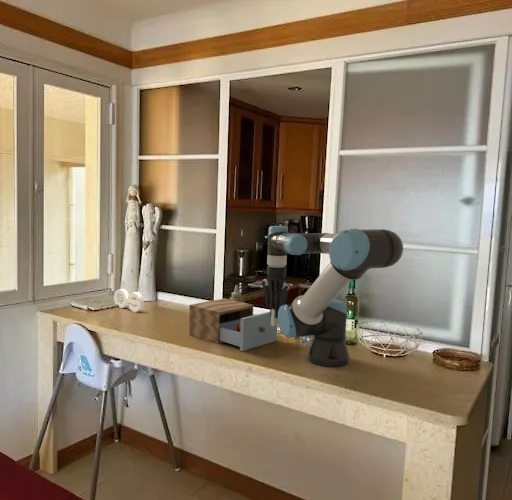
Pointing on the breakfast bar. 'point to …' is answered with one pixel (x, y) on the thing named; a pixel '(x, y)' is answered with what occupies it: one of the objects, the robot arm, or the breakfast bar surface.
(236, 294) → the squeeze bottle
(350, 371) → the breakfast bar surface
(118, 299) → the contact lens case
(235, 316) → the wooden drawer cabinet
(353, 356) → the breakfast bar surface
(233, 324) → the grey drawer
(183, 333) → the breakfast bar surface
